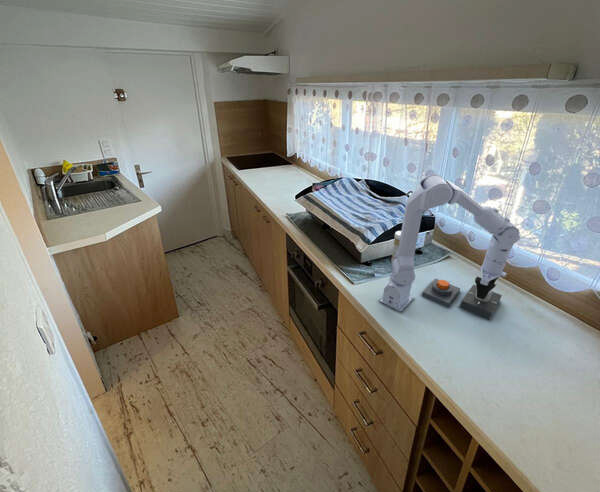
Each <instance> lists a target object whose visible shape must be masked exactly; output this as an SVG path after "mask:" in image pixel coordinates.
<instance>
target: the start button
mask: <svg viewBox="0 0 600 492" xmlns="http://www.w3.org/2000/svg"><path fill="white" fill-rule="evenodd" d="M438 280H439V281H438V284H437V287H438V288H440V289H443V290H447V289H448V287H449V284H450V282H449V281H447V280H445V279H438Z"/></svg>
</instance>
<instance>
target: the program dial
mask: <svg viewBox="0 0 600 492" xmlns="http://www.w3.org/2000/svg"><path fill="white" fill-rule="evenodd" d="M492 292H494V290H493V289H492V290H490V291H489V293H488V294H487V296H486V297H485V299H484V300H483V299H480V298H478V297H477V290H476V293H475V297H476V299H478V300H480V301H483V302H488V301H489V300H490V297H491V295H492Z"/></svg>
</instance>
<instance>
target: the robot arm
mask: <svg viewBox="0 0 600 492" xmlns="http://www.w3.org/2000/svg"><path fill="white" fill-rule="evenodd" d="M446 204H448V205H454V204H457V205H459V206H460V207H461V208H463V209H465V210H466V211H467V212H469V213H470V214H472V215H473V222H474V223H476V224H477V225H478V226H480V227H481V228H482V229H483V230H485V231H486V232H487V233H489V234H491V238H490V241H489V243H488V246H487V250H486V251H485V252H486V253H485V256H484V258H483V262H482V265H480V274H481V277H479V276H476V277H475V278H474V283H475V285H476V286H477V297H478V298H480V299H483V300H484V299H485V297H486V296H487V294H488V293H489V291H490V290H492V291H493V289H494V288H496V286H497V284H496V282H497V280H498V279H499V278H500V277H501V278H502V277H503V278H505V277H506V276H507V272H506V271H505V270H504V269H505V266H506V264H507V261H508V259H509V255H510V254H511V253H510V252H511V250H512V249H513V246H514V245H515V244H516V243H517V242H518V241H520V239H521V233H520V230H519V228H517V227H516V226H515V225H514V224H513V223H512V222H511V219H510V218H508V217H507V216H506V217H504V216H503V215H502V214H500V213H499V212H500V210H499V209H497V208H496V206H494V207H492V206H489V205H485V206H482V205H481V204H479V202H477V201H476V200H475V199H474V198H473V197H471V196H470V195H469V194H467V193H466V192H465V191H464V190H463V189H462V188H461V187H459V186H458V185H456V184H454V183H453V182H452V181H450V180H448V179H444V178H443V176H441V175H440V174H436V173H432V174H429V175H427V176H426V177H424V178H422V179H420V180H419V182H418V184H417V186H416V187H415V189H414V190H413V192H412V193H411V194H410V195H409V196H408V198H407V199H406V201H405V206H404V207H405V208H404V212H403V218H402V224H401V230H400V231H401V236H400V242H399V248H398V251H397V252H396V254H395V257H394V258H393V259H392V258H391V259H392V261H391V260H390V261H391V263H390V264H391V267H392V271H391V273H390V275H389V281H388V283H387V284H386V285H385V286H384V289H383V293H382V294H383V296H382V297H381V298H380V299H379V302H380V303H382V304H385V305H386V306H388V307H390V308H393V309H394V310H396V311H398V312H402V311H403V310H404V309H405V308H406V307H408V305H409V304H410V303H411V302H412V301H413V299H414V296H412V295H410V294H411V290H412V285H413V283H414V281H415V280H416V273H415V253H416V248H417V243H418V239H419V232H420V228H421V227H420V226H421V223H422V217H423V213H424V212H426V211H427V210H430V209H434V208H437V207H441V206H444V205H446Z"/></svg>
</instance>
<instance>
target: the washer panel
mask: <svg viewBox="0 0 600 492" xmlns="http://www.w3.org/2000/svg"><path fill="white" fill-rule="evenodd" d="M476 290H477V286H476V284H472V285H471V287H470V289H469V290H468V291H467V293H466V294H465V296H463V298H462V300H461V302H460V305H459V308H460V309H462V310H465V311H466V312H470V313H472V314H474V315H476V316H478V317H481V318H484V319H485V320H487V321H490V319H492V316H493V314H494V312H495V311H496V309H497V307H498V305H499V303H500V302H501V298H502V294H500V293H498V292H495V291H493V292H492V295H491V297H490V300H489V301H488V302H483V301H480V300H478V299H476V297H475V293H476Z"/></svg>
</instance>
